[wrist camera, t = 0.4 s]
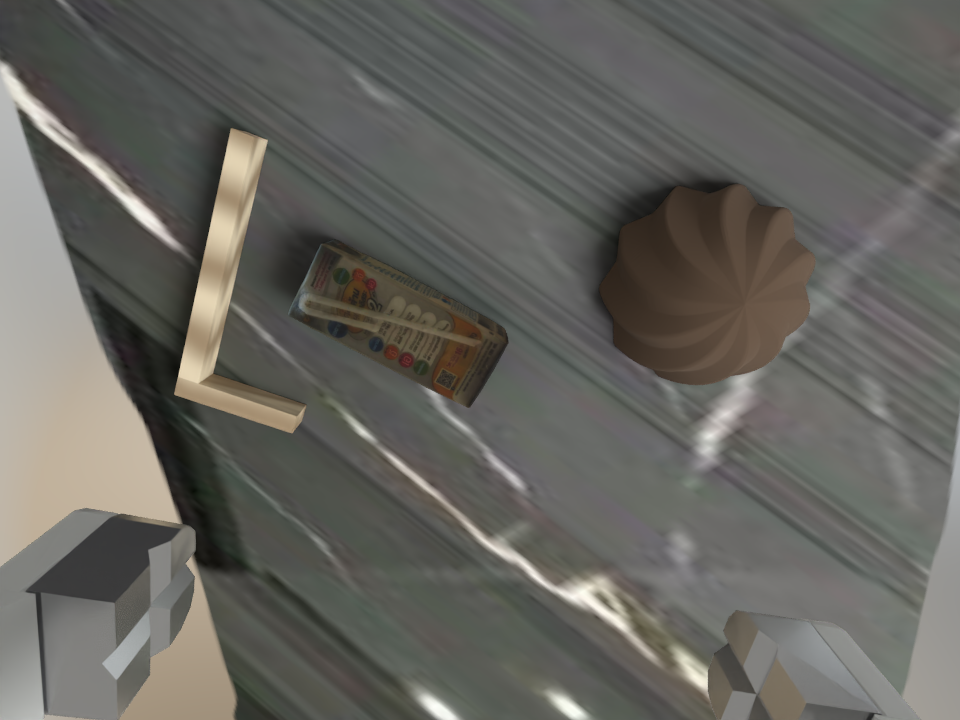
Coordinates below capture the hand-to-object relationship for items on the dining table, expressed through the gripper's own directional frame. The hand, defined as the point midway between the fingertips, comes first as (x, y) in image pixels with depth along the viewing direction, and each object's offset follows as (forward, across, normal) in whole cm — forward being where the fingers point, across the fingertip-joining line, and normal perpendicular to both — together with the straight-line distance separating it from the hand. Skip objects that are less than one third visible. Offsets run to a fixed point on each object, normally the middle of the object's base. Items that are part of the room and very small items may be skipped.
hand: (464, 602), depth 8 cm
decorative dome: (+46, -22, -2) cm, 51 cm away
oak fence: (+45, +19, +6) cm, 50 cm away
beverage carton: (+46, +6, +7) cm, 47 cm away
